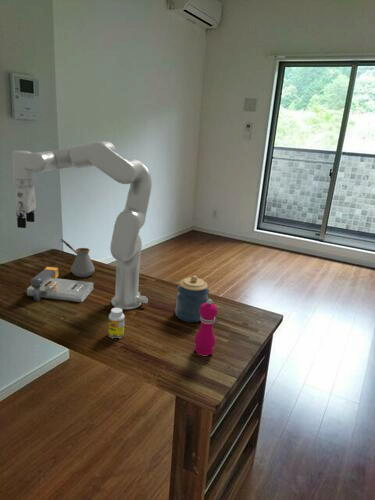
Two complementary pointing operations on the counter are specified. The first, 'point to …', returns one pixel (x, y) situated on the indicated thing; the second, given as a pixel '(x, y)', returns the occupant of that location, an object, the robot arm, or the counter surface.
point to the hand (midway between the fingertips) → (26, 224)
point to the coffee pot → (81, 262)
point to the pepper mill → (206, 329)
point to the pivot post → (37, 294)
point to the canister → (191, 298)
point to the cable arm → (44, 276)
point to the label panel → (64, 289)
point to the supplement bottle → (116, 323)
